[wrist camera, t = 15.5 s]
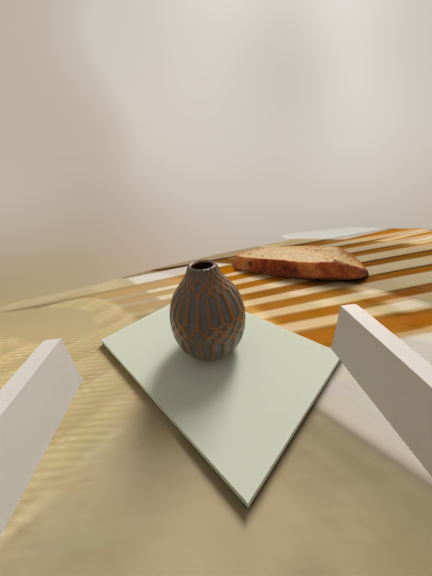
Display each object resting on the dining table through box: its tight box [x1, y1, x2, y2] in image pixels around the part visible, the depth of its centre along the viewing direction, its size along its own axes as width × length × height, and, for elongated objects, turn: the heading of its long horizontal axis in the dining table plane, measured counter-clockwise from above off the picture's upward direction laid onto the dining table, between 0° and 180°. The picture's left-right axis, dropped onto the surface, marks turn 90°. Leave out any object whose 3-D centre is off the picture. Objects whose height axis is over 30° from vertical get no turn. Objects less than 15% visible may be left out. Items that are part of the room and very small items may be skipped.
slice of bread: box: [233, 246, 368, 280], centre depth 39 cm, size 18×18×4 cm
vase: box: [169, 260, 245, 361], centre depth 20 cm, size 7×7×9 cm
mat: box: [101, 304, 340, 508], centre depth 23 cm, size 20×14×1 cm
